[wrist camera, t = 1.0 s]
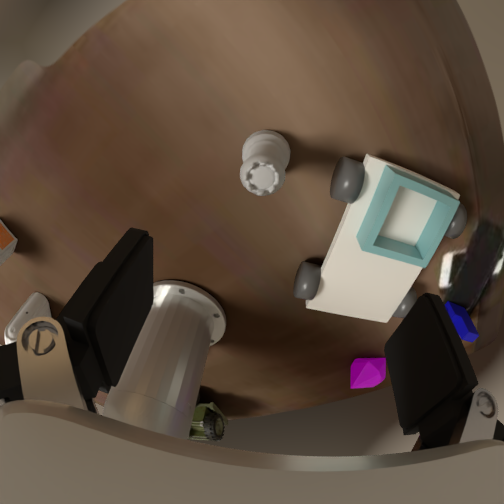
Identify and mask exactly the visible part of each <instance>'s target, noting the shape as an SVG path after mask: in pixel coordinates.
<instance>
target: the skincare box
mask: <svg viewBox="0 0 504 504" xmlns="http://www.w3.org/2000/svg"><path fill="white" fill-rule="evenodd" d="M17 241H18V240H17V239H16V238H15V237H14V235H13V234H12V233H11V232H10V231H9V229H8V228H7V227H6V226H5V225H4V223H3V222H2V221H1V220H0V265H2V264H3V263H4V262H5V261H6V260H7V259H8V258H9V257H10V256H11V255H12V254H13V252H14V249H15V246H16V244H17Z"/></svg>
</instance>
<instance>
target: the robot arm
mask: <svg viewBox="0 0 504 504" xmlns="http://www.w3.org/2000/svg"><path fill="white" fill-rule="evenodd" d="M225 328H226V316H225V313H224V310H223V309H222V307H221V305H220V304H219V303H218V302H217V300H216V299H215V298H213V297H212V296H211V295H210V294H209V293H207V292H206V291H204V290H202V289H201V288H199V287H197V286H194V285H192V284H189V283H185V282H182V281H175V280H164V281H159V282H155V283H153V237H150V236H149V234H148V232H147V231H144V230H140V229H136V228H130V229H129V230H128V231H127V232H126V233H125V234H124V236H123V237H122V238H121V239H120V240H119V242H118V243H117V244H116V245H115V247H114V248H113V249H112V250H111V252H110V253H109V254H108V255H107V257H106V258H105V259H104V260H103V262H98V263H97V264H96V265H95V266H94V268H93V269H92V270H91V272H90V273H89V274H88V276H87V277H86V278H85V280H84V281H83V282H82V284H81V285H80V286H79V288H78V289H77V290H76V292H75V293H74V294H73V296H72V297H71V299H70V300H69V301H68V303H67V304H66V306H65V307H64V309H63V310H62V311H61V313H60V314H59V316H58V317H57V319H56V320H54V319H52V318H50V317H36V318H34V319H31V320H29V321H28V322H27V323H25V324H24V325H23V326H22V328H21V329H20V331H19V333H18V335H17V341H16V342H13V343H10V344H6V345H3V346H0V504H504V425H503V424H502V423H501V422H500V421H499V420H497V415H498V406H497V402H496V400H495V398H494V396H493V395H492V394H491V393H490V392H489V391H488V390H486V389H483V388H479V389H477V390H476V391H475V392H474V393H473V392H472V389H473V388H474V387H475V386H476V385H478V381H477V378H476V375H475V373H474V370H473V368H472V366H471V363H470V360H469V358H468V355H467V353H466V351H465V348H464V346H463V344H462V341H461V339H460V337H459V335H458V332H457V330H456V328H455V326H454V324H453V322H452V320H451V318H450V316H449V313H448V311H447V309H446V307H445V305H444V304H443V302H442V300H441V298H440V296H438V295H435V294H430V293H424V294H423V295H422V296H420V297H419V298H418V299H417V301H416V302H415V304H414V305H413V307H412V308H411V309H410V311H409V312H408V314H407V315H406V317H405V318H404V319H403V321H402V322H401V324H400V325H399V326H398V328H397V329H396V331H395V332H394V333H393V335H392V336H391V337H390V339H389V340H388V341H387V343H386V344H385V348H384V352H385V356H386V360H387V364H388V369H389V373H390V378H391V382H392V387H393V391H394V396H395V401H396V406H397V412H398V417H399V422H400V426H401V427H402V428H403V433H404V435H411V434H416V433H417V432H419V433H420V436H419V437H418V440H417V441H416V443H415V445H414V447H413V449H412V451H411V452H404V453H396V454H386V455H372V456H353V457H352V456H351V457H315V456H314V457H311V456H293V455H279V454H269V453H259V452H251V451H243V450H237V449H230V448H224V447H219V446H213V445H208V444H203V443H198V442H194V441H189V440H188V437H189V432H190V428H191V424H192V419H193V415H194V410H195V406H196V402H197V397H198V393H199V389H200V384H201V380H202V376H203V372H204V367H205V363H206V359H207V355H208V350H209V346H211V345H213V344H215V343H217V342H218V341H219V340H220V339H221V338H222V337H223V335H224V332H225ZM98 390H100V391H102V392H105V393H109V394H108V396H107V398H106V401H105V404H104V408H103V416H102V415H99V413H98V410H97V407H96V405H95V402H94V399H93V398H95V397H96V395H97V393H98Z"/></svg>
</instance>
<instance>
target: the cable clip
mask: <svg viewBox="0 0 504 504" xmlns="http://www.w3.org/2000/svg"><path fill="white" fill-rule="evenodd" d="M445 307H446V309H447V311H448V313H449V316H450V318H451V320H452V322H453V324H454V326H455V328H456V330H457V332H458V334H459V335H460V337H461V339H463V340H466V341H469V342H473V341H474V340H475V339H476V338H477V337H478V336H479V334H478V332H477V330H476V328H475V326H474V324H473V322H472V320H471V319H470V317H469V315H468V313H467V311H466V309H465V308H464V307H461V306H459V305H457V304H454V303H452V302H449V301H448V302H447V303H446V304H445Z"/></svg>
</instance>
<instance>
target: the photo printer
mask: <svg viewBox="0 0 504 504" xmlns="http://www.w3.org/2000/svg"><path fill="white" fill-rule="evenodd" d="M36 317H50V318H51V312H50V307H49V303H48V300H47V299H46V297H45V296H44V295H42V294H41V293H38V292H36V293H33V294H32V295H31V296H30V297H29V298H28V299H27V301H26V302H25V303H24V304H23V306H22V307H21V308H20V309H19V311H18V312H17V313H16V315H15V316H14V317H13V319H12V320H11V321H10V323H9V324H8V325H7V327H6V329H5V343H6V344H10V343H13V342H16V341H17V335H18V333H19V331H20V329H21V328H22V326H23V325H24V324H25V323H27V322H28V321H29V320H31V319H34V318H36Z"/></svg>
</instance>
